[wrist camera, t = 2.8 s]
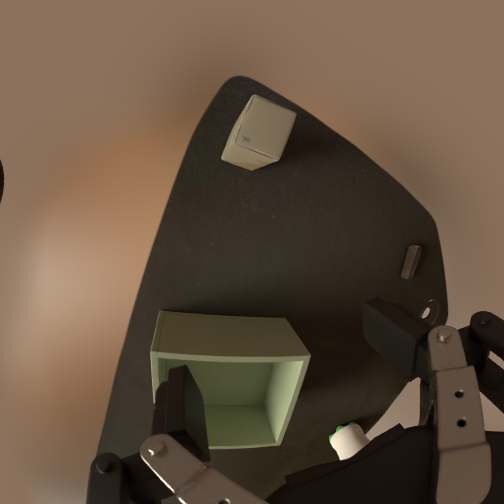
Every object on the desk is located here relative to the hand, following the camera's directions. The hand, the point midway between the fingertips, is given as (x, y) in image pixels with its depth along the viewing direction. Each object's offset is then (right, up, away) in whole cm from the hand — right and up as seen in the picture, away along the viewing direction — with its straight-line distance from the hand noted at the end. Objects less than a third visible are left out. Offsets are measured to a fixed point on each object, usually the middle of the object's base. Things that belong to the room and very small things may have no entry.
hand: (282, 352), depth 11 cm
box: (-2, +17, +21) cm, 27 cm away
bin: (-6, -13, +27) cm, 31 cm away
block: (+26, +3, +30) cm, 40 cm away
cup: (+20, -37, +39) cm, 57 cm away
